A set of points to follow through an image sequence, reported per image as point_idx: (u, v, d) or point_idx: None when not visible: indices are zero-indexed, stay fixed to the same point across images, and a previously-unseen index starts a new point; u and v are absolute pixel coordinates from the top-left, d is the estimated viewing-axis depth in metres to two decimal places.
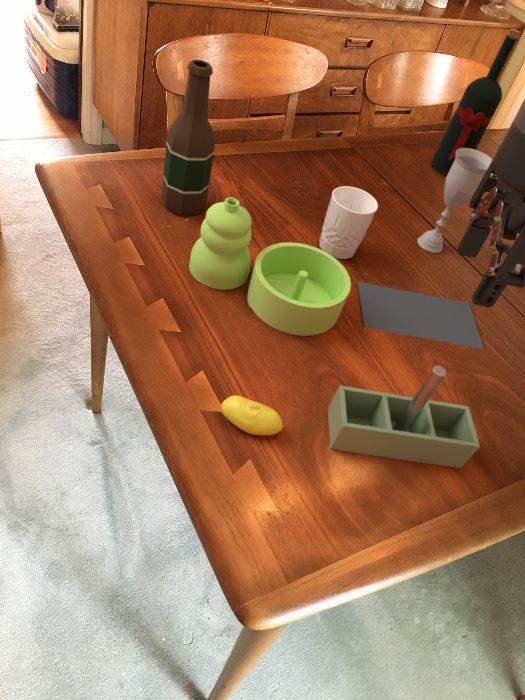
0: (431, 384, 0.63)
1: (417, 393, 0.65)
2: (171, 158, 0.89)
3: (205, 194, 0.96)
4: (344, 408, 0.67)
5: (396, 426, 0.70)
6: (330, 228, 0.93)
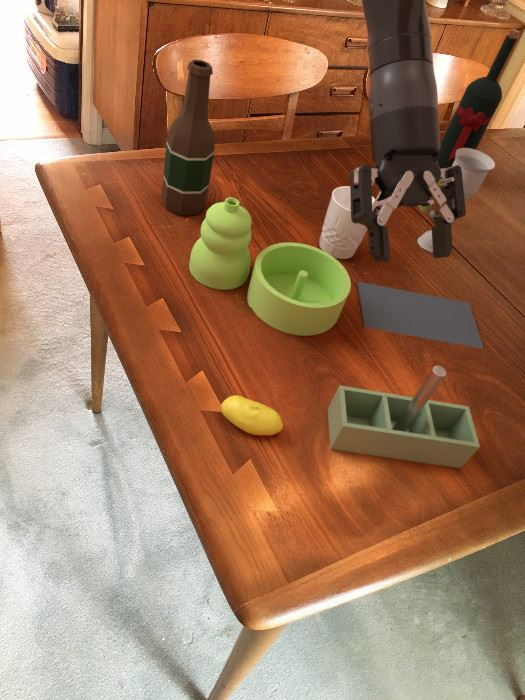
0: (431, 384, 0.63)
1: (417, 393, 0.65)
2: (171, 158, 0.89)
3: (205, 194, 0.96)
4: (344, 408, 0.67)
5: (396, 426, 0.70)
6: (330, 228, 0.93)
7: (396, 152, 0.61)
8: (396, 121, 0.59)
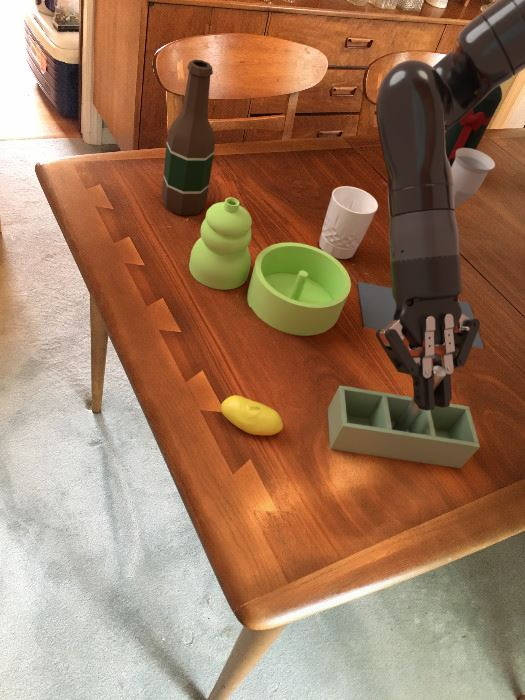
0: None
1: None
2: (171, 158, 0.89)
3: (205, 194, 0.96)
4: (344, 408, 0.67)
5: (396, 426, 0.70)
6: (330, 228, 0.93)
7: (417, 297, 0.61)
8: (418, 270, 0.59)
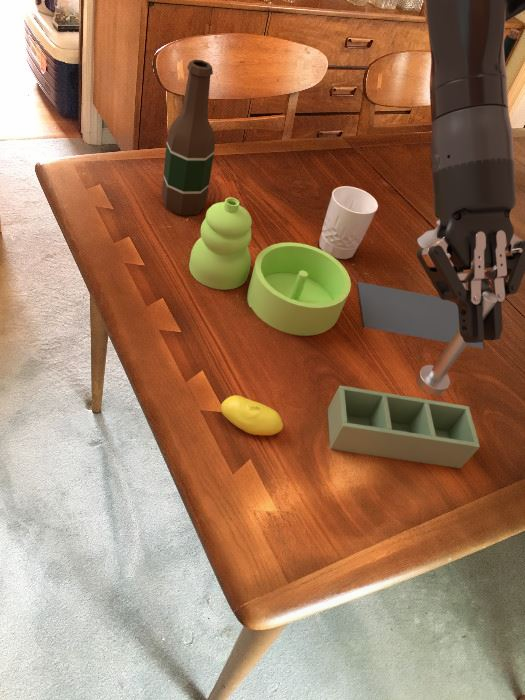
0: None
1: None
2: (171, 158, 0.89)
3: (205, 194, 0.96)
4: (344, 408, 0.67)
5: (434, 368, 0.62)
6: (330, 228, 0.93)
7: (466, 210, 0.53)
8: (468, 176, 0.51)
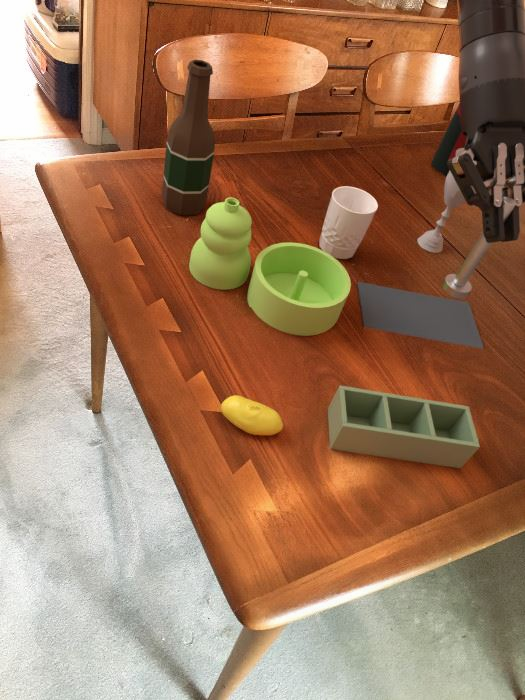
0: None
1: None
2: (171, 158, 0.89)
3: (205, 194, 0.96)
4: (344, 408, 0.67)
5: (459, 273, 0.71)
6: (330, 228, 0.93)
7: (490, 124, 0.62)
8: (492, 93, 0.60)
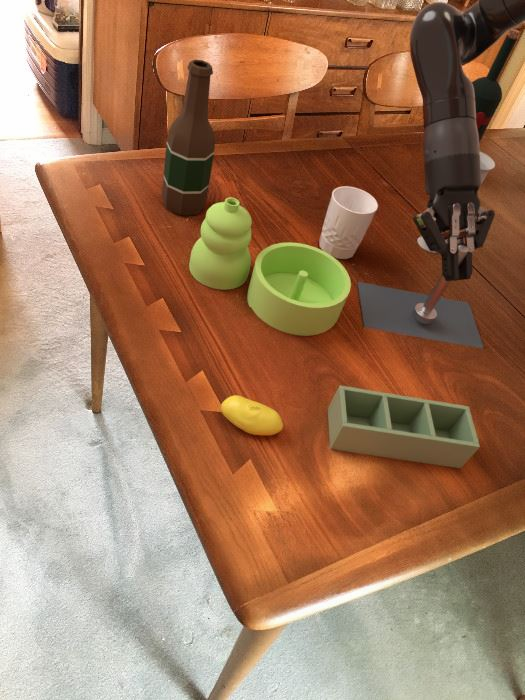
0: None
1: None
2: (171, 157, 0.89)
3: (205, 194, 0.96)
4: (344, 408, 0.67)
5: (425, 303, 0.87)
6: (330, 228, 0.93)
7: (446, 188, 0.77)
8: (447, 165, 0.76)
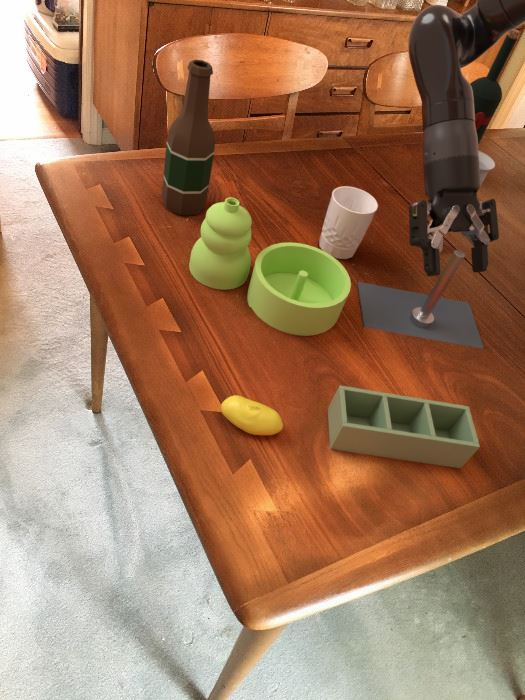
0: (453, 264, 0.80)
1: (441, 275, 0.83)
2: (171, 157, 0.89)
3: (205, 194, 0.96)
4: (344, 408, 0.67)
5: (423, 307, 0.87)
6: (330, 228, 0.93)
7: (446, 190, 0.78)
8: (447, 167, 0.76)
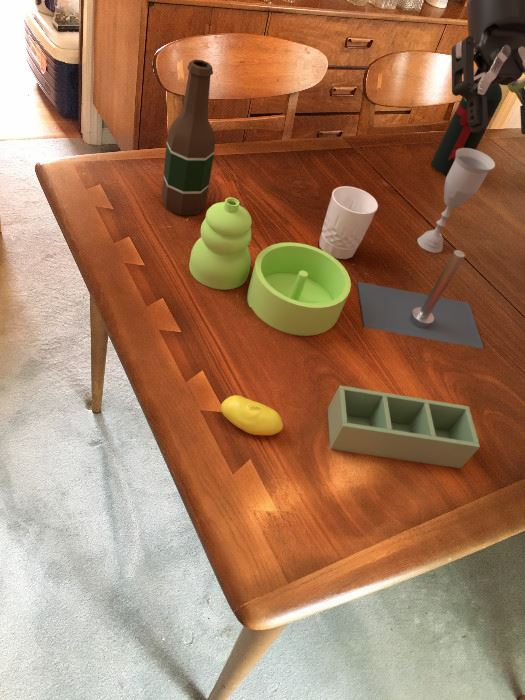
0: (453, 264, 0.80)
1: (441, 275, 0.83)
2: (171, 157, 0.89)
3: (205, 194, 0.96)
4: (344, 408, 0.67)
5: (423, 307, 0.87)
6: (330, 228, 0.93)
7: (495, 28, 0.67)
8: None
